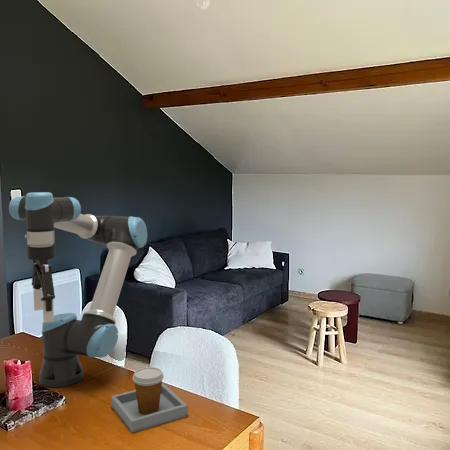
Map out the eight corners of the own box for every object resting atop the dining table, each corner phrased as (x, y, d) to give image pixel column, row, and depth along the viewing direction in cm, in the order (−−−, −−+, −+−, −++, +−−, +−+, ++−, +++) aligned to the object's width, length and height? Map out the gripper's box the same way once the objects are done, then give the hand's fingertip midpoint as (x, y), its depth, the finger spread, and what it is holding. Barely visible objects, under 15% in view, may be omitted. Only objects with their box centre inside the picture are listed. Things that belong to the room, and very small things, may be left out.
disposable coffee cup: (158, 419, 141) (157, 380, 140) (128, 415, 143) (127, 377, 142) (168, 403, 150) (167, 367, 149) (140, 400, 152) (139, 365, 151)
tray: (111, 406, 150) (111, 396, 150) (162, 392, 159) (162, 383, 159) (131, 433, 135) (131, 421, 134) (187, 416, 144) (187, 405, 144)
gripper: (20, 240, 146) (23, 307, 149) (35, 252, 125) (38, 329, 128) (45, 238, 150) (47, 303, 153) (64, 250, 129) (67, 324, 132)
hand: (43, 315), depth 140 cm, fingers open, 13 cm apart
